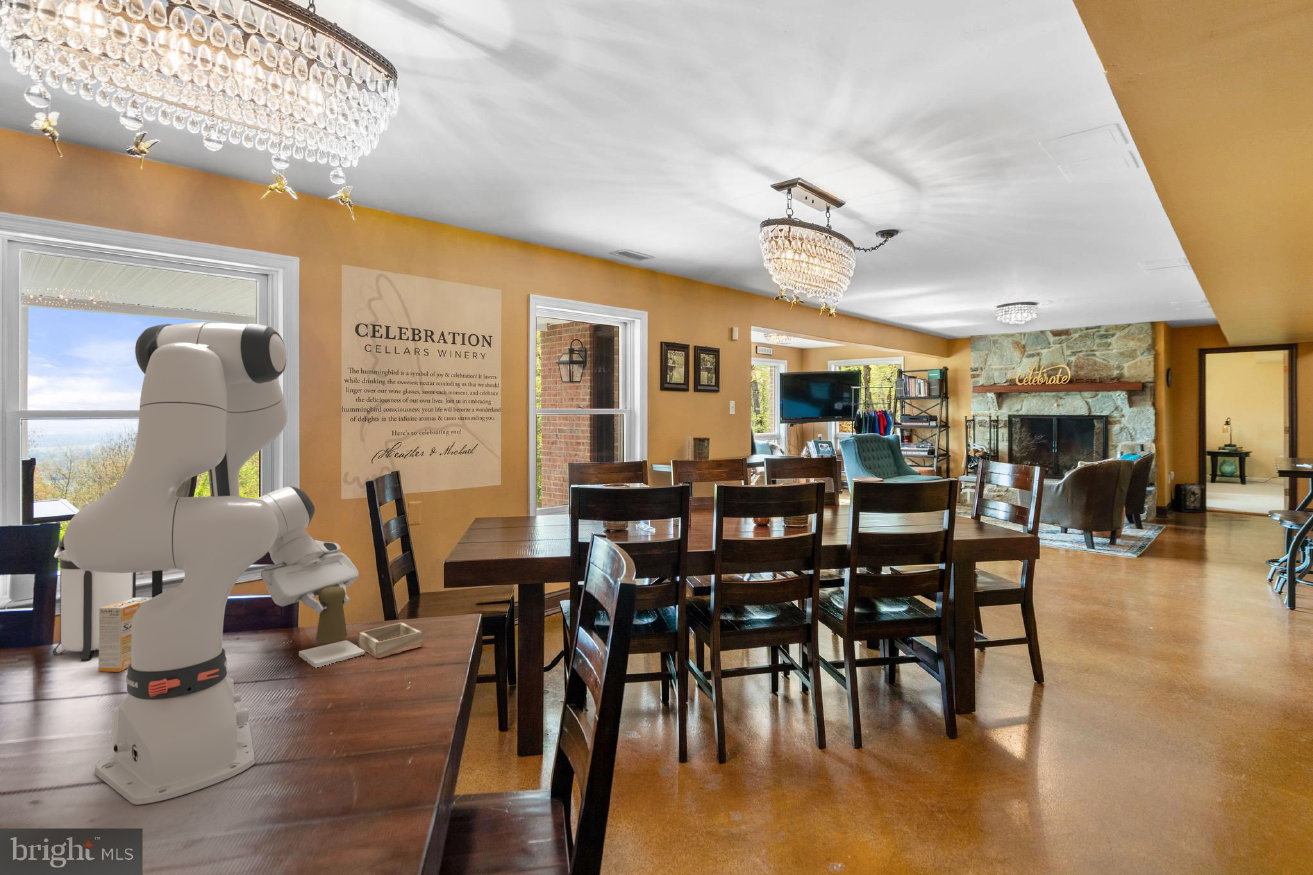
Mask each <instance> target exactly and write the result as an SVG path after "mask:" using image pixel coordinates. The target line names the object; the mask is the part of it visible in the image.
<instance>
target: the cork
mask: <svg viewBox="0 0 1313 875" xmlns="http://www.w3.org/2000/svg"><path fill="white" fill-rule="evenodd" d="M344 599H345V590H344V589H343V588H342V587H337V586H333V587H327V588H324V589H322V590H321V591H320V593H319V595H318V601H319V602H324V603H325V605H326V606H327V609H326V610H325V611H324V612H322V613H319V617H318V623H317V630H316V637H315V641H316V642H318V643H319V642H320V643H334V642H339V641H341V640H342V641H343V640H344V639H346V638H347V637H348V634H347V633H348V632H347V626H346V625H347V624H346V619H345V610H344V605H343V600H344Z"/></svg>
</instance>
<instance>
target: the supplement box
mask: <svg viewBox="0 0 1313 875" xmlns="http://www.w3.org/2000/svg"><path fill="white" fill-rule="evenodd" d="M150 599H152V597H145V596H144V597H139V596H138V597H136V598H132V599H129V600H125V601H122V602H118V603H115V604H112V605H108V606H104V607H100V609H99V611H100V612H99V613H100V614H99V649H98V671H99V672H111V673H112V672H115V673H118V672H119V673H120V672H123V671H125V670H128V666H129V665H130V664H131V622H132V619H133V616H134V614H135V612H136V611H137V610H138V609H139V607H140V606H142V605H143V604H144V603H145V602H147V601H148V600H150Z"/></svg>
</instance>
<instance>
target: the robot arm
mask: <svg viewBox="0 0 1313 875" xmlns="http://www.w3.org/2000/svg"><path fill="white" fill-rule="evenodd" d="M134 352H135V360H136V363H137V365H138V367H139V368H140V370H141V371H142V373H143V374H144V377H143V380H142V386H141V391H140V401H139V412H138V425H137V426H138V427H137V434H136V442H135V448H134V452H133V456H132V459H131V461H130V463H129V466H128V467H127V469H126V471H125V472H124V474H123V475H122V476H121V478H120V479H119V480H118V481H117V483H115V485H113V487H111V489H109V490H108V491H107V492H105V493H104V494H103V495H102V496H100V497H99V498H98V499H96V500H95V501H93V502H91V503H88V504H87V505H86V506H84V507H83V508H81V509H80V510H79V511H78V512H76V513H75V514H74V515H73V516H72V518H71V519H70V521H69V522H68V523H67V526H66V528H65V531H64V534H63V536H64V548H65V551H66V553H67V555H68V557H69V559H70V560H71V561H72V562H73V563H74V564H75V565H76V566H77V567H79V568H80V569H81V570H85V571H95V572H108V573H133V572H136V573H143V572H144V573H146V572H152V571H158V570H163V571H167V570H169V571H170V570H181V571H183V572H184V577H183V581H182V582H180V583H179V584H178V585H176V586H174V587H172V588H170V589H168V590H166V591H162V593H161V594H159V595H157V596H155V597H153V598H152V597H151V598H152V599H150V600H148V601H147V602H145V603H144V604H143V605H142V606H140V607H139V609H138V610H137V611H136V612H135V614H134V616H133V619H132V622H131V664H130V665H129V666H128V668H127V672H126V673H127V674H126V676H125V677H126V678H125V682H126V691H127V692H126V693H128V694H127V695H126V697H125V698H124V699H123V700H122V702H120V704H119V705H117V706H116V708H114V710H113V714H112V730H111V748H110V749H111V751H110V756H107V757H106V758H104V759H102V760H101V761H100V762H97V764H96V765H95V768H94V774H95V775H96V776H97V777H98V778H99V779H101V780H102V781H103V782H105V783H106V784H107V785H108V786H110V787H111V788H112V789H113V790H115V791H116V792H117V793H118V794H120V795H121V796H122V797H124V799H125V800H127V801H129V802H130V803H131V804H133V805H145V804H150V803H157V802H162V801H165V800H169V799H172V798H177V797H180V796H183V795H186V794H189V793H192V792H196V791H198V790H201V789H205V788H207V787H210V786H213V785H216V784H217V783H220V782H223V781H225V780H227V779H230V778H232V777H234V776H236V775H239V774H240V773H242V772H244V771H246V770H248V769H249V768H251V767H252V766H253V765H255V763H256V760H255V759H256V758H255V751H254V746H253V740H252V739H253V737H252V733H251V732H252V731H251V726H250V725H251V724H250V722H249V707H247V706H245V707H240V708H237V709H236V708H235V703H236V704H237V703H239V702H240V703H241V700H242V694H241V692H236V693H234V679H232V678H231V677H228V671H227V665H228V661H227V660H228V658H227V656H226V650H225V648H223V634H224V633H223V631H224V618H225V610H226V606H227V601H228V598H229V595H230V593H231V592H232V589H233V588H234V585H235V584H236V583H237V581H238V579H239V578H240V577H241V576H242V575H243V574H244V573H245V571H247V570H248V569H249V568H250V567H251V566H252V565H253V564H254V563H256V562H257V561H258V560H260V559H262V558H263V557H264V556H266V555H267V553H269V555H270V558H271V561H272V562H273V564H274V565H268V566H265V567H263V569H262V570H261V572H260V577H261V579H262V580H263V582H264V583H265V587H266V589H267V592H268V593H269V596H270V597H271V599H272V601H273V603H274V604H276V605H277V606H278V607H279V606H280V607H285V606H288V605H291V604H295V603H298V602H302V603H303V605H305V606H307V607H309V608H311V609H313V611H314V612H315V613H316V614H317V615H320V613H322V612H324V611H325V610H326V609H327V606H326V605H325V603H324V602H320V601H319V599H316V598H315V597H316V596H317V597H318V596H319V593H320V591H321V590H322V589H324V588H327V587H333V586H337V587H342V588H343V589H344V590H345V599H344V600H343V606H345V605H347V604H348V603H349V602H350V598H349V596H348V595H347V587H349V586H352V585H353V584H354V583H355V581H356V580H357V579H358V578H359V575H360V574H359V570H358V569H357V566H356V565H355V564H354V563H353V562H352V560H351V559H350V558H349V557H348V556H347V555H346V553H344V552H341V550H342V548H341V546H340V545H339V543H337V542H329V541H321V540H317V539H315V540H314V538H313V537H312V536H311V535H310V534H309V533H308V532H307V530H306V528H307V527H309V525H310V524H311V523H312V520H313V518H314V515H315V512H316V509H315V505H314V504H313V501H312V500H311V499H310V497H309V496H308V494H307V493H306V492H305V491H304V490H302V489H300V488H298V487H295V486H293V485H292V486H291V485H288V486H285V487H281V488H279V489H276V490H273V491H270V492H268V493H266V494H263V495H261V496H259V497H256V498H254V497H253V498H251V497H244V496H240V486H239V484H240V483H239V474H240V471H241V470H242V467H244V465H246V463H247V462H248V461H249V460H250V459H251V458H252V457H253V456H254V455H256V454H257V453H258V452H260V451H261V450H263V449H264V448H266V447H267V446H269V445H270V444H272V442H274V441H275V440H276V439H277V438H278V437H279V436H280V435H281V434H282V432H283V430H284V429H285V427H286V424H287V422H288V412H287V407H286V402H285V398H284V395H283V391H282V387H281V384H280V381H279V379H278V378H279V377H280V376H281V375H282V374H283V373H284V371H285V369H286V367H287V366H286V365H287V351H286V346H285V343H284V340H283V337H282V336H281V335H280V333H278V332H277V331H276V330H275V329H274V328H273V327H272V326H269V325H265V324H259V323H253V322H252V323H248V324H242V323H230V322H212V321H202V322H201V321H199V322H198V321H197V322H185V323H177V324H172V323H162V324H158V325H154V326H150V327H148V328H146V329H145V330H143V332H142V333H141V334H140V335H139V337H138V338H137V340H136V342H135V349H134ZM206 472H208V481H209V493H210V496H188V497H187V496H185V497H183V496H182V497H181V496H176V495H177V492H178V490H179V488H180V487H181V486H182V484H183V483H184V482H186V481H187V480H189V479H191V478H193V477H196V476H199V475H202V474H205V473H206Z"/></svg>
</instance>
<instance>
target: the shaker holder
mask: <svg viewBox="0 0 1313 875" xmlns="http://www.w3.org/2000/svg"><path fill="white" fill-rule="evenodd" d="M357 634H358V635H357V646H358V645H359V646H360V647H362V648H364V649H366V650H367V651H369V652H370V653H373V654H375V655H376V656H380V655H383V654H386V653H390V652H392V651H396V650H398V649H402V648H404V647H408V646H410V645H414V644H418V643H420V642H422V643H423V631H421V630H420V629H416V628H415V627H412V626H410V625H408V624H406V623H404V622H396V623H392V624H388V625H384V626H379V627H375V628H371V629H365V630H363V631H358V632H357ZM399 634H401V635H403V636H399V637H395V638H391V639H387V640H383V641H378V640H381V639H384V638H388V637H391V636H395V635H399Z"/></svg>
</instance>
